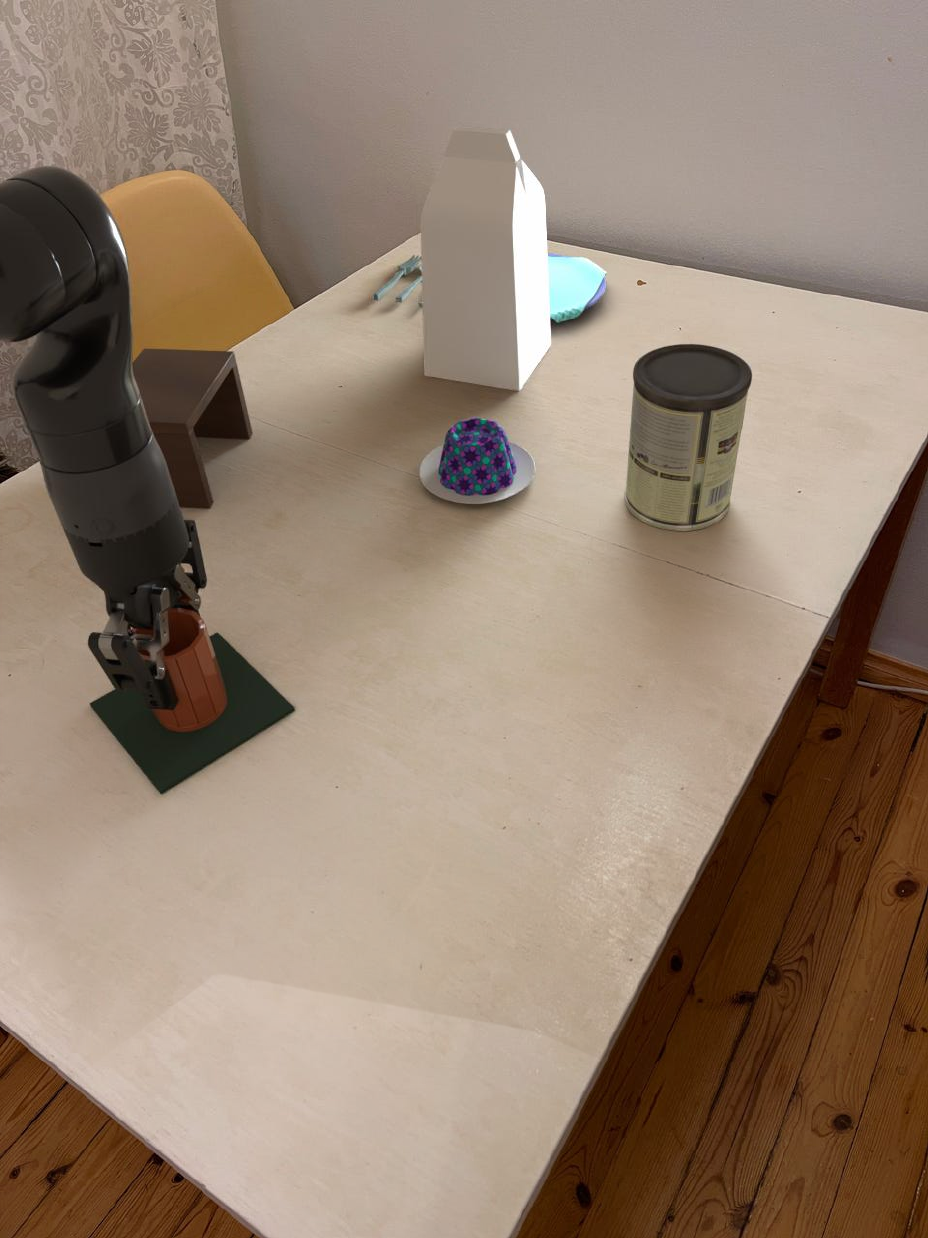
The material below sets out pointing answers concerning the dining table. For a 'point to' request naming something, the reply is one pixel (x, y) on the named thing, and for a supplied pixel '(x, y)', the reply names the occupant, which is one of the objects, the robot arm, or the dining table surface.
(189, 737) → the mat
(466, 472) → the pudding
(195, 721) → the cup
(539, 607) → the dining table surface
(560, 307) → the cutlery set
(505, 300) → the milk
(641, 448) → the coffee can
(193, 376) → the shelf
